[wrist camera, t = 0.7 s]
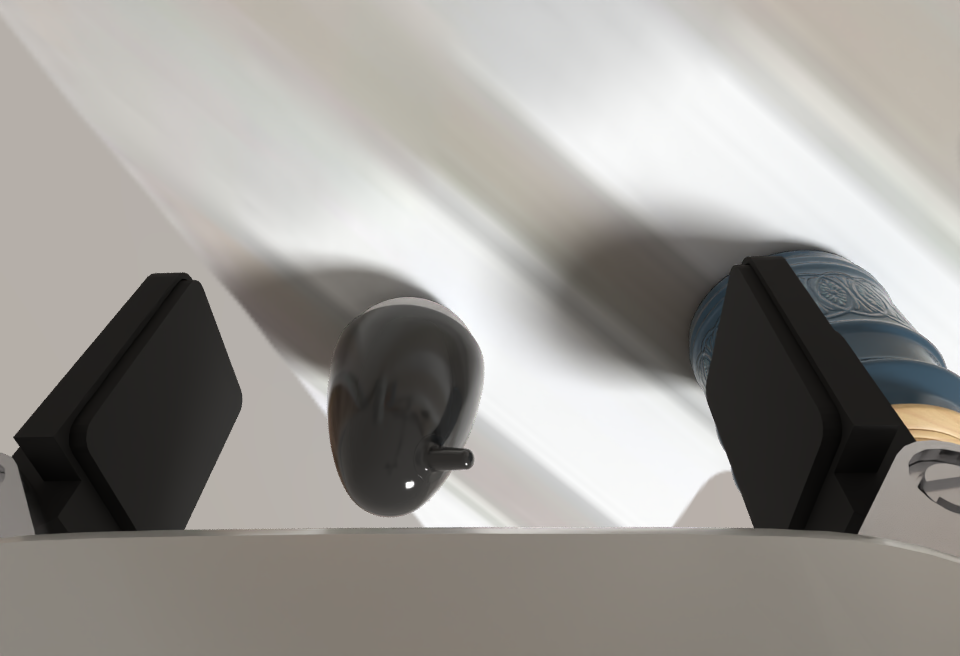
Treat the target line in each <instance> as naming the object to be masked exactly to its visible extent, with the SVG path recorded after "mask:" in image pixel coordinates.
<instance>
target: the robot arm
mask: <svg viewBox="0 0 960 656" xmlns="http://www.w3.org/2000/svg"><path fill="white" fill-rule="evenodd" d="M706 398H707V402H708V405H709V408H710V411H711V413H712V416H713V419H714V422H715V424H716V427H717V430H718V432H719V435H720V438H721V440H722V443H723V446H724V448H725V451H726V454H727V457H728V459H729V462H730V465H731V467H732V470H733V473H734V475H735V478H736V481H737V483H738V486H739V489H740V492H741V494H742V497H743V500H744V502H745V505H746V508H747V510H748V513H749V516H750V518H751V521H752V524H753V526H754V528H695V527H692V528H691V527H452V528H306V529H228V530H227V529H225V530H224V529H221V530H184V529H185V527H186V525H187V523H188V521H189V519H190V517H191V514H192V512H193V510H194V508H195V506H196V504H197V501H198V500H199V497H200V495H201V493H202V491H203V489H204V487H205V485H206V483H207V480H208V478H209V476H210V474H211V472H212V470H213V468H214V466H215V464H216V461H217V459H218V457H219V455H220V453H221V451H222V449H223V447H224V444H225V442H226V440H227V438H228V436H229V434H230V432H231V430H232V427H233V425H234V423H235V421H236V419H237V417H238V415H239V412H240V410H241V407H242V393H241V389H240V386H239V384H238V381H237V379H236V376H235V373H234V370H233V367H232V365H231V362H230V359H229V357H228V354H227V351H226V349H225V346H224V343H223V340H222V338H221V335H220V332H219V330H218V327H217V324H216V321H215V319H214V316H213V313H212V311H211V308H210V305H209V303H208V300H207V297H206V295H205V292H204V289H203V287H202V285H201V283H200V282H199V281H196V280H192V278H191V277H190V276H189V275H188V274H186V273H155V274H151V275H150V276H148V277H147V278H146V280H145V281H144V282H143V283H142V284H141V286H140V287H139V288H138V289H137V290H136V292H135V293H134V294H133V295H132V296H131V298H130V299H129V300H128V301H127V302H126V303H125V305H124V306H123V307H122V308H121V310H120V311H119V312H118V313H117V314H116V315H115V317H114V318H113V319H112V320H111V321H110V323H109V324H108V325H107V326H106V327H105V329H104V330H103V331H102V332H101V333H100V335H99V336H98V337H97V338H96V339H95V341H94V342H93V343H92V344H91V345H90V346H89V348H88V349H87V350H86V351H85V352H84V354H83V355H82V356H81V357H80V358H79V360H78V361H77V362H76V363H75V364H74V366H73V367H72V368H71V369H70V370H69V372H68V373H67V374H66V375H65V377H63V379H62V380H61V381H60V382H59V383H58V385H57V386H56V387H55V388H54V389H53V391H52V392H51V393H50V394H49V395H48V397H47V398H46V399H45V400H44V401H43V403H42V404H41V405H40V406H39V407H38V408H37V410H36V411H35V412H34V413H33V414H32V416H31V417H30V418H29V419H28V420H27V422H26V423H25V424H24V425H23V427H22V428H21V429H20V430H19V431H18V433H17V434H16V435H15V436H14V437H13V438H14V439H15V441H16V442H17V443H18V445H19V446H20V447H19V448H18V450H17V451H16V452H15V453H14V455H13V456H12V457H10V456H8V455H6V454H3V453H0V656H960V445H958V444H955V443H951V442H944V441H937V440H927V441H916V440H915V438H914V437H913V435H912V434H911V433H910V431H909V430H908V428H907V427H906V425H905V424H904V423H903V421H902V420H901V418H900V417H899V416H898V414H897V413H896V411H895V410H894V408H893V407H892V406H891V404H890V403H889V401H888V400H887V398H886V397H885V396H884V394H883V393H882V391H881V390H880V388H879V387H878V386H877V384H876V383H875V381H874V380H873V379H872V377H871V376H870V374H869V373H868V371H867V370H866V369H865V367H864V366H863V364H862V363H861V361H860V360H859V359H858V357H857V356H856V354H855V353H854V351H853V350H852V349H851V347H850V346H849V344H848V343H847V341H846V340H845V339H844V337H843V336H842V335H841V334H840V333H839V332H837V331H835V330H834V329H833V327H832V326H831V324H830V323H829V321H828V320H827V319H826V317H825V316H824V314H823V313H822V311H821V310H820V308H819V307H818V306H817V304H816V303H815V301H814V300H813V298H812V297H811V295H810V294H809V293H808V291H807V290H806V288H805V287H804V285H803V284H802V283H801V281H800V280H799V278H798V277H797V275H796V274H795V272H794V271H793V270H792V268H791V267H790V265H789V264H788V262H787V261H786V259H785V258H784V257H782V256H755V257H746V258H745V259H744V260H743V262H742V264H741V265H735V266H733V267H732V269H731V272H730V275H729V280H728V285H727V289H726V294H725V298H724V303H723V308H722V312H721V317H720V322H719V326H718V331H717V335H716V340H715V345H714V349H713V354H712V358H711V363H710V368H709V372H708V377H707V382H706Z"/></svg>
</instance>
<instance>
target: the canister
mask: <svg viewBox="0 0 960 656" xmlns="http://www.w3.org/2000/svg"><path fill="white" fill-rule="evenodd" d="M769 256H782V257H784V258H785V259H786V261H787V262H788V264H789V265H790V267H791V268H792V270H793V271H794V272H795V274H796V275H797V277H798V278H799V280H800V281H801V283H802V284H803V285H804V287H805V288H806V290H807V291H808V293H809V294H810V295H811V297H812V298H813V300H814V301H815V303H816V304H817V306H818V307H819V308H820V310H821V311H822V313H823V314H824V316H825V317H826V319H827V320H828V321H829V323H830V324H831V326H832V327H833V329H834V330H835V331H837V332H839V333H840V334H841V335H842V336H843V337H844V339H845V340H846V341H847V343H848V344H849V346H850V347H851V349H852V350H853V351H854V353H855V354H856V356H857V357H858V359H859V360H860V361H861V363H862V364H863V366H864V367H865V369H866V370H867V371H868V373H869V374H870V376H871V377H872V379H873V380H874V381H875V383H876V384H877V386H878V387H879V388H880V390H881V391H882V393H883V394H884V396H885V397H886V398H887V400H888V401H889V403H890V404H891V406H892V407H893V408H894V410H895V411H896V413H897V414H898V416H899V417H900V418H901V420H902V421H903V423H904V424H905V425H906V427H907V428H908V430H909V431H910V433H911V434H912V435H913V437H914V438H915V440H916V441H927V440H937V441H944V442H951V443H955V444H958V445H960V376H958V375H957V374H955V373H954V372H952V371H950V370H948V369H947V367H946V364H945V361H944V359H943V357H942V355H941V354H940V352H939V351H938V349H937V348H936V347H935V346H934V345H933V344H932V343H931V342H930V341H929V340H928V339H926V338H925V337H924V336H922V335H921V334H919V333H918V332H917V330H916V329H915V328H914V327H913V326H912V325H911V324H910V322H909V321H908V320H907V319H906V318H905V317H904V316H903V314H902V313H901V312H900V311H899V310H898V309H897V308H896V306H895V305H894V304H893V303H892V300H891V298H890V296H889V295H888V293H887V292H886V290H885V289H884V288H883V287H882V285H881V284H880V283H879V282H878V281H877V280H876V279H875V278H874V277H873V276H872V275H871V274H870V273H868V272H867V271H866V270H864V269H863V268H861V267H859V266H857V265H855V264H854V263H852V262H851V261H849V260H847V259H845V258H843V257H841V256H838V255H835V254H832V253H828V252H823V251H815V250H795V251H787V252H781V253H777V254H773V255H769ZM728 280H729V275H728V276H727V277H726V278H724V279H723V280H722V281H721V282H719V283H718V284H717V285H716V286H715V287H714V288H713V289H712V290H711V291H710V292H709V293H708V294H707V296H706V297H705V298H704V300H703V301H702V302H701V304H700V305H699V307H698V309H697V311H696V313H695V315H694V317H693V320H692V323H691V327H690V332H689V356H690V362H691V366H692V369H693V372H694V375H695V377H696V380H697V382H698V384H699V385H700V387H701V388H702V390H703V391H704V393H705V396H706V382H707V377H708V372H709V368H710V363H711V358H712V354H713V349H714V345H715V340H716V335H717V331H718V326H719V322H720V317H721V312H722V308H723V303H724V298H725V294H726V289H727V285H728ZM706 399H707V398H706ZM715 426H716V424H715ZM716 432H717V436H718V439H719V442H720V444H721V446H722V447H723V449H724V450H725V448H724V446H723V443H722V440H721V438H720V435H719V432H718V430H717V427H716ZM725 452H726V451H725ZM731 471H732V476H733V480H734V482H735V485H736V487H737V489H738V490H739V491H740V489H739V486H738V483H737V481H736V478H735V475H734V473H733V470H732V467H731ZM740 493H741V492H740Z"/></svg>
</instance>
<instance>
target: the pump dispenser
mask: <svg viewBox="0 0 960 656" xmlns="http://www.w3.org/2000/svg"><path fill="white" fill-rule="evenodd" d="M483 384H484V360H483V355H482V352H481V350H480V347H479V345H478V343H477V342H476V340H475V339H474V337H473V336H472V335H471V333H470V331H469V330H468V328H467V327H466V325H465V324H464V323H463V321H462V320H461V319H460V318H459V317H458V316H457V315H455V314H454V313H453V312H452V311H450V310H449V309H447V308H446V307H444V306H442V305H440V304H438V303H436V302H433V301H430V300H427V299H422V298H416V297H401V298H394V299H390V300H386V301H383V302H381V303H378V304H376V305H374V306H373V307H371V308H369V309H368V310H366V311H365V312H364V313H363V314H361V315H360V316H358V317H357V318H356V319H354V320H353V321H352V322H351V323H350V324H349V325H348V326H347V327H346V328H345V329H344V330H343V332H342V333H341V335H340V336H339V338H338V341H337V343H336V346H335V349H334V352H333V355H332V360H331V365H330V372H329V381H328V392H327V420H328V431H329V438H330V444H331V450H332V454H333V458H334V462H335V466H336V469H337V472H338V475H339V477H340V480H341V482H342V484H343V486H344V488H345V490H346V492H347V493H348V495H349V496H350V498H351V499H352V500H353V501H354V502H355V503H356V504H357V505H358V506H359V507H360V508H362V509H363V510H365V511H367V512H369V513H371V514H373V515H377V516H381V517H399V516H404V515H407V514H409V513H412V512H414V511H416V510H417V509H419V508H420V507H422V506H423V505H424V504H425V503H426V502H428V501H429V500H430V499H431V498H432V497H433V496H434V495H435V493H436V492H437V491H438V490H439V489H440V488H441V486H442V485H443V484H444V482H445V481H446V479H447V478H448V476H449V475H450V473H451V471H453V470H465V469H470V468H471V467H472V466H473V464H474V455H473V453H472V451H471V450H469V449H464V446H465V444H466V442H467V440H468V437H469V435H470V433H471V430H472V427H473V424H474V421H475V418H476V415H477V411H478V408H479V404H480V399H481V395H482V390H483Z"/></svg>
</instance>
